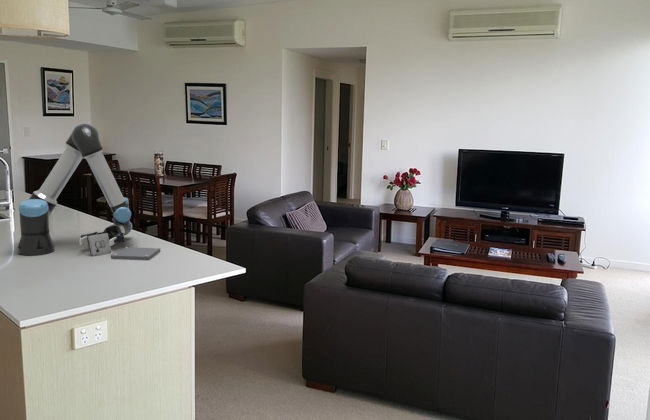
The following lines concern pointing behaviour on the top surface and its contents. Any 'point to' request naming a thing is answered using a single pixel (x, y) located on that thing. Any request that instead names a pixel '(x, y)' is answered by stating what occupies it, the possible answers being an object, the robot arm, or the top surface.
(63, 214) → the top surface
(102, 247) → the electrical switch
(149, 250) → the mounting plate
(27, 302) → the top surface
